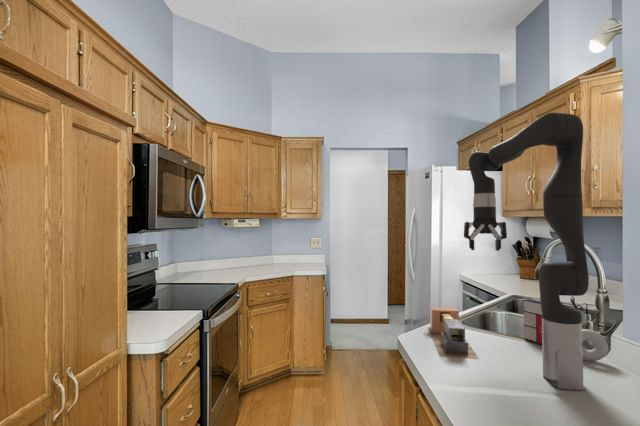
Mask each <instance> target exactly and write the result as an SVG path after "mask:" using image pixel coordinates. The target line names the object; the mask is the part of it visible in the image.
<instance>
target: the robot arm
mask: <svg viewBox="0 0 640 426" xmlns="http://www.w3.org/2000/svg"><path fill="white" fill-rule="evenodd" d="M583 143H584V124H583V122H582V119H581V118H580V117H579V116H578V115H576V114H574V113H573V114H572V113H561V112H548V113H545V114H543V115H541V116H540V117H538V118H536V119H535V120H534V121H533V122H531V123H530V124H528V125H527V126H526V127H524V128H523V129H522V130H520V131H519V132H518V133H516V134H515V135H513V136H512V137H510V138H507V139H506V140H504V141H502V142H500V143H498V144H496V145H493V147H491V148H490V150H488V151H475V152H472V153H471V155H470V157H469V159H468V167H469V171H470V175H471V178H472V181H473V204H472V206H473V221H472V222H471V221H465V222H464V225H463V227H464V228H463V237H464V239H468V241H469V243H468V246H469V249H470V250H471V251H475V240H474V239H475V238H476V237H477V236H478V235H480V234H481V235H482V234H483V235H484V234H488V235H490V234H491V235H492V236H493V237H494V239H495V251H500V250H501V248H502V240H504V239H507V238H508V235H507V234H508V233H507V223H506V222H505V221H500V222H498V221H497V204H496V203H497V200H496V183H495V182H496V181H495V178H492V177H490V176H488V175H486V172H494V171H497V170H498V169H500V168H501V167H502V166H503V165H504V164H508V163H509V162H512V161H514V160H516V159H518V158H520V157H521V156H522V155H523V154H524V152H525V151H526V150H528V149H530V148H533V147H538V146H543V145H544V146H548V147H555V150H556V162H555V167H554V170H553V172H552V174H551V176H550V178H549V179H548V181H547V183H546V185H545V187H544V189H543V194H542V203H543V204H542V206H543V207H542V209H543V215H544V219H545V220H546V222H547V224H548V225H549V226H550V227H551V229H552V230H553V232H555V234H556V236H557V237H558V238H559V240H560V242H561V243H562V245H563V249H564V250H565V251H564V252H565V256H566V258H565V259H566V261H545V262H543V263H541V265H540V266H539V269H538V284H539V285H538V286H539V287H538V288H539V301H540V303H541V310H542V344H541V345H542V378H543V379H544V380H545V381H546V382H547V383H548V384H549V385H551V386H554V387H556V388H557V389H562V390H572V391H573V390H575V391H584V359H583V355H582V346H583V342H582V329H583V322H582V321H583V320H582V319H583V318H582V313H581V311H580V310H578V309H576V308H573V307H570V306H568V305H565V304H563V303H562V302H561V299H560V296H564V297H565V296H573V297H574V296H575V297H581V296H584V295H585V294H587V292H588V289H589V284H590V279H589V278H590V277H589V269H588V260H587V254H586V247H585V240H584V239H585V237H584V218H583V214H584V212H583V211H584V209H583V208H584V207H583V206H584V205H583V191H582V156H583ZM471 227H473V228H474V230H473V231H472V233H471V234H470V228H471ZM497 227H498V228H499V229H500V234H499V233H498V231H497V230H496V228H497Z"/></svg>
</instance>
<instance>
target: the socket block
mask: <svg viewBox="0 0 640 426" xmlns="http://www.w3.org/2000/svg"><path fill="white" fill-rule="evenodd" d="M429 308H430V309H429V310H430V311H429V312H430V313H429V314H430V315H429V316H430V317H429V318H430V321H429V322H430V327H431V331H432V332H440V333H444V325H443V323H442V321H441V320H440V312H448V313H449V314H450V315H451V317H452V318H453V319H458V320H459V319H460V311H459V310H458V309H457V308H456V307H436V306H435V307H434V306H433V307H432V306H430V307H429ZM459 321H460V320H459Z"/></svg>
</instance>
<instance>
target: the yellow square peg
mask: <svg viewBox="0 0 640 426" xmlns="http://www.w3.org/2000/svg"><path fill="white" fill-rule="evenodd" d="M444 319H453V318H452V317H451V315H450V314H449V313H448V312H440V320H441V321H442V323H443V325H444ZM451 335H458V330H451Z"/></svg>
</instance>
